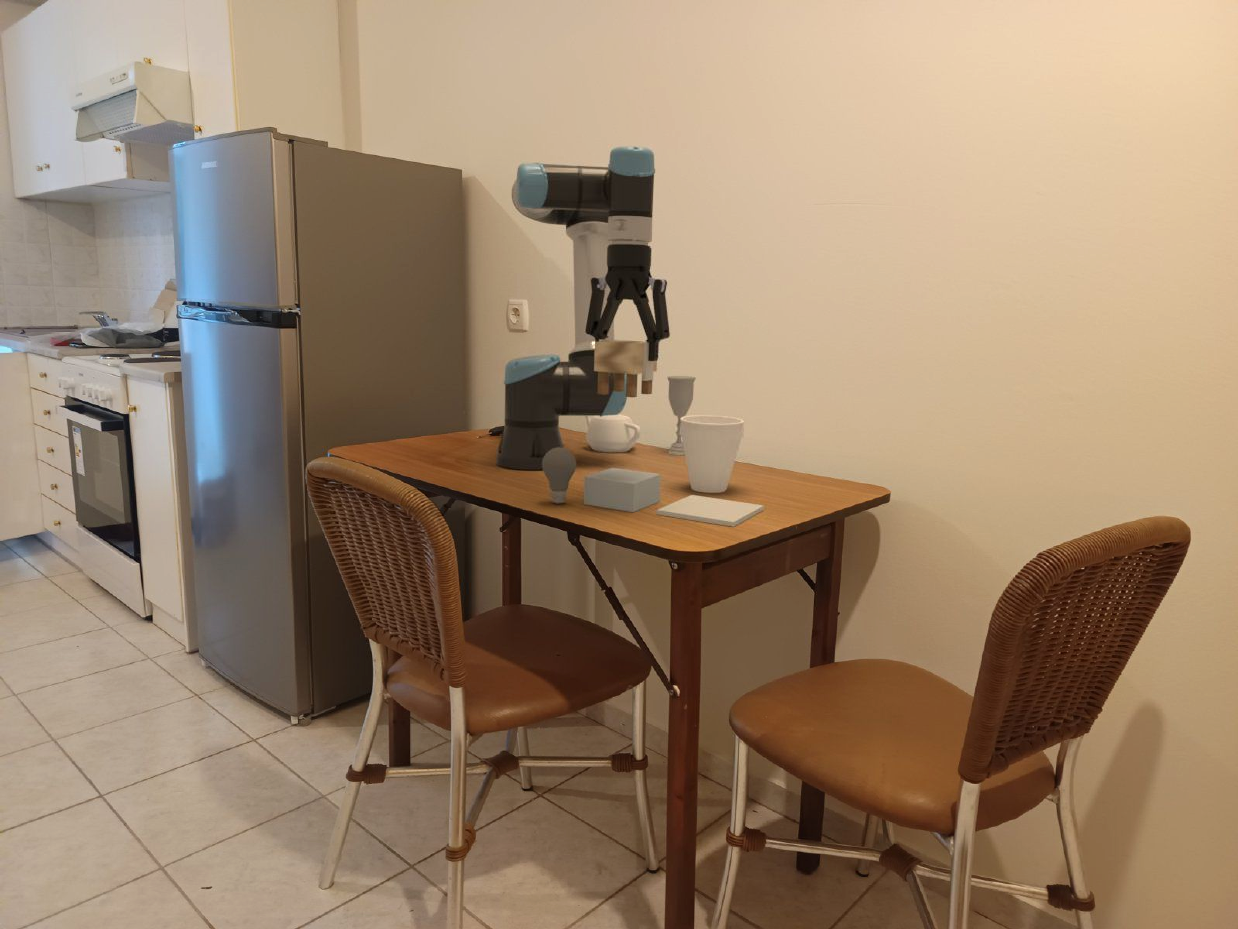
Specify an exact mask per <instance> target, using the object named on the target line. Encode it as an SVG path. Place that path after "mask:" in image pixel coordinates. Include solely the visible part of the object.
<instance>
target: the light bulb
mask: <svg viewBox="0 0 1238 929" xmlns="http://www.w3.org/2000/svg"><path fill="white" fill-rule="evenodd" d="M542 468H543V469H542V470H543V474H544V475H545V477H546V478H547V481H548V485H549V488H550V490H551V491H550V494H551V496H550V497H551V499H550V501H551V502H553V503H555V504H556V505H560V504H563V503H565V502H566V501H567V490H568V488H569V484H570V482H571V478H572V477H573V475H574V474H575V472H576V469H577V461H576V458H575V456H574V454H573V453H572V452H571V451H570V449H567V448H565V447H564V448H561V447H558V448H553V449H551V450H550V451H548V452H547V453H546V455H545V456H544V458H543V461H542Z"/></svg>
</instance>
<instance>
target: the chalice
mask: <svg viewBox="0 0 1238 929" xmlns="http://www.w3.org/2000/svg"><path fill="white" fill-rule="evenodd" d="M666 378H667V380H668V401H669V406H670V408H671V410H672V413H673V415H674V416H676V417H677V424H676V427H677V431H676V432H675V434H676V436H677V438H676V441H675V442H672V443H671V445H670V447H669V450H668V452H667V454H669V455H675V456H677V455H678V456H685V452H684V447H683V441H682V436H681V435H680V434H679V433H680V424H681V421H680V419H681V417H684V416H687V414H688V411H689V410H690V408H691V405H692V402H693V400H694V390H695V389H694V385H695V381H696V379H697V377H695V376H688V375H687V376H686V375H668V376H667V377H666Z"/></svg>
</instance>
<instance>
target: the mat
mask: <svg viewBox="0 0 1238 929" xmlns="http://www.w3.org/2000/svg"><path fill="white" fill-rule="evenodd" d="M764 510H765V505H763V504H757V503H750V502H749V503H748V502H742V501H737V500H736V501H735V500H728V499H721V498H715V497H710V496H709V497H708V496H701V495H694V494H690V495H688V496H685V497H683V498H681V499H679V500H677V501H674V502H671V503H670V504H667V505H665V506H663V507H659V508H658V509H656V515H659V516H664V517H670V518H677V519H682V520H689V521H694V522H695V521H696V522H701V523H707V524H713V525H720V526H726V527H730V528H731V527H732V528H735V527H736V526H737V525H739V524H741V523H743V522H745V521H747V520H748V519H750V518H752V517H754V516H756V515H758V514H759V513H761V512H763V511H764Z"/></svg>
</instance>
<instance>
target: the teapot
mask: <svg viewBox="0 0 1238 929" xmlns="http://www.w3.org/2000/svg"><path fill="white" fill-rule="evenodd" d="M584 417H585V420H586V424H587V431H586V434H585V440H586V443H587V445H589V446H590V448H591V449H592V450H593V449H594V450H593V451H595V450H597V451H596V452H600V451H602V453H617V452H618V453H625V452H628V451H630V450H631V449H632V448H633V447H634V446H635V445H636V443H637V441H638V440H639V439H640V437H641V432H642V431H641V428H640V426H639V425H638V424H635V423H634V422H633V420H632V418H631V417H630V416H628V415H623V414H620V413H619V414H618V415H608V416H602V417H600V416H593V417H592V418H591V417H590V416H584Z"/></svg>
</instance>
